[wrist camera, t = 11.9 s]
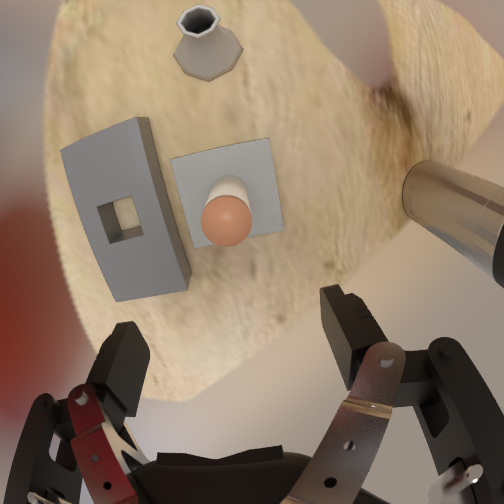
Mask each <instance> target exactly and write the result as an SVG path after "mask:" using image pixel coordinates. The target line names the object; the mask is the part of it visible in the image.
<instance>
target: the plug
mask: <svg viewBox="0 0 504 504" xmlns="http://www.w3.org/2000/svg"><path fill="white" fill-rule="evenodd" d="M201 228H202V231H203V233H204V235H205V236H206V237H207V239H208V240H210V241H211V242H212V243H214V244H216V245H219V246H233V245H236V244H239V243H241V242H242V241H243V240H244V239H245V238H246V237H247V236H248V235H249V233H250V231H251V228H252V217H251V211H250V206H249V200H248V195H247V189H246V186H245V184H244V182H243V181H242V180H241V179H240V178H238V177H236V176H233V175H225V176H222V177H220V178H218V179H217V180H216V181H215V182H214V183H213V185H212V188H211V191H210V193H209V196H208V199H207V202H206V205H205V207H204V210H203V213H202V216H201Z"/></svg>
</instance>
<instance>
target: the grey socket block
mask: <svg viewBox="0 0 504 504" xmlns="http://www.w3.org/2000/svg"><path fill="white" fill-rule="evenodd" d="M60 152H61V157H62V160H63V164H64V168H65V172H66V175H67V179H68V182H69V186H70V189H71V192H72V195H73V199H74V202H75V205H76V208H77V211H78V214H79V216H80V219H81V222H82V225H83V227H84V230H85V233H86V235H87V238H88V241H89V243H90V246H91V248H92V250H93V253H94V255H95V258H96V260H97V262H98V265H99V267H100V269H101V271H102V274H103V276H104V278H105V280H106V282H107V284H108V287H109V289H110V291H111V293H112V295H113V297H114V299H115V301H116V302H121V301H127V300H133V299H139V298H145V297H151V296H156V295H162V294H168V293H174V292H179V291H185V290H188V286H189V281H190V277H191V270H190V267H189V264H188V261H187V258H186V255H185V252H184V248H183V245H182V242H181V239H180V236H179V232H178V229H177V226H176V222H175V219H174V216H173V212H172V209H171V205H170V202H169V198H168V195H167V191H166V188H165V184H164V180H163V176H162V173H161V169H160V165H159V161H158V157H157V153H156V149H155V145H154V141H153V136H152V132H151V128H150V123H149V119H148V118H145V117H135V118H132V119H130V120H127V121H124V122H122V123H119V124H116V125H114V126H111V127H109V128H106V129H104V130H102V131H99V132H97V133H95V134H92V135H90V136H88V137H86V138H83V139H81V140H79V141H77V142H75V143H73V144H71V145H69V146H67V147H65V148H63V149H61V150H60ZM131 195H132V199H133V202H134V205H135V208H136V211H137V215H138V218H139V221H140V224H141V226H139V227H135V228H131V229H127V230H124V231H121V228H120V225H119V222H118V220H117V217H116V214H115V211H114V208H113V204H112V201H115V200H118V199H121V198H125V197H128V196H131Z"/></svg>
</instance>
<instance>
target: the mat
mask: <svg viewBox="0 0 504 504" xmlns="http://www.w3.org/2000/svg"><path fill="white" fill-rule="evenodd" d="M170 161H171V165H172V169H173V173H174V177H175V181H176V185H177V189H178V192H179V196H180V200H181V203H182V207H183V211H184V214H185V218H186V221H187V225H188V228H189V232H190V235H191V238H192V242H193V245H194V248H199V247H204V246H209V245H214V243H212V242H211V241H210V240H208V239H207V237H206V236H205V235H204V233H203V231H202V228H201V216H202V213H203V210H204V207H205V205H206V202H207V199H208V196H209V193H210V191H211V188H212V185H213V183H214V182H215V181H216V180H217V179H218V178H220V177H222V176H225V175H233V176H236V177H238V178H240V179H241V180H242V181H243V182H244V184H245V186H246V189H247V195H248V200H249V206H250V211H251V217H252V228H251V231H250V233H249V235H248V236H247V237H246V238H248V237H253V236H258V235H263V234H268V233H273V232H278V231H283V230H284V225H283V219H282V212H281V206H280V200H279V194H278V188H277V182H276V176H275V170H274V164H273V159H272V153H271V148H270V142H269V138H265V139H259V140H254V141H248V142H243V143H238V144H233V145H228V146H224V147H219V148H215V149H210V150H206V151H202V152H198V153H194V154H190V155H186V156H182V157H178V158H174V159H171V160H170Z"/></svg>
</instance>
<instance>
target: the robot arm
mask: <svg viewBox="0 0 504 504" xmlns="http://www.w3.org/2000/svg"><path fill="white" fill-rule="evenodd" d="M403 204H404V208H405V211H406V213H407V214H408V216H409V217H410V218H411V219H412V220H414V221H415V222H417V223H418V224H420V225H421V226H423V227H424V228H426V229H427V230H428V231H430V232H431V233H433V234H434V235H436V236H437V237H439V238H440V239H442V240H443V241H444V242H446V243H447V244H448V245H450V246H451V247H452V248H454V249H455V250H456V251H458V252H459V253H461V254H462V255H463V256H464V257H466V258H467V259H468V260H470V261H471V262H472V263H473V264H475V265H476V266H477V267H479V268H480V269H481V270H482V271H484V272H485V273H486V274H487V275H488V276H490V277H491V278H492V279H493V280H494V281H496V282H497V283H498V284H499V285H500V286H501V287H503V288H504V187H501V186H499V185H497V184H494V183H492V182H489V181H487V180H484V179H482V178H479V177H477V176H474V175H471V174H468V173H466V172H463V171H460V170H457V169H454V168H452V167H449V166H446V165H442V164H439V163H436V162H432V161H424V162H421V163H419V164H417V165H416V166H415V167H414V168H413V169H412V170H411V171H410V173H409V174H408V176H407V178H406V181H405V183H404V188H403ZM320 305H321V320H322V325H323V329H324V332H325V334H326V337H327V339H328V341H329V344H330V346H331V349H332V352H333V354H334V357H335V359H336V362H337V365H338V367H339V370H340V372H341V375H342V377H343V380H344V383H345V385H346V388H347V390H348V391H349V390H350V393H349V395H348V397H347V399H346V400H344V401H343V402H342V403H341V405H340V407H339V409H338V410H337V413H336V415H335V416H334V418H333V420H332V422H331V424H330V426H329V428H328V430H327V432H326V434H325V436H324V437H323V439H322V441H321V443H320V444H319V446H318V448H317V450H316V451H315V453H314V455H313V457H310V456H307V455H303V454H299V453H292V452H284V451H283V448H282V445H279V446H273V447H266V448H260V449H251V450H247V451H244V452H241V453H237V454H234V455H231V456H228V457H224V458H221V459H209V458H204V457H199V456H195V455H190V454H186V453H159V452H158V453H157V460H155V461H152V462H150V461H149V460H148V459H147V458H146V457H145V455H144V454H143V452H142V451H141V449H140V447H139V445H138V444H137V442H136V440H135V438H134V437H133V435H132V433H131V431H130V429H129V428H128V426H127V424H126V423H125V422H124V419H125V417H135V416H136V411H137V408H138V403H139V399H140V395H141V391H142V387H143V383H144V379H145V375H146V371H147V368H148V364H149V360H150V350H149V347H148V345H147V343H146V341H145V340H144V338H143V336H142V334H141V332H140V331H139V329H138V327H137V325H136V323H135V322H133V321H130V322H122V323H117V324H116V326H115V328H114V330H113V332H112V335H109V337H108V338H107V339H106V340H105V341H104V342H103V344H102V346H101V348H100V350H99V353H98V355H97V357H96V360H95V361H94V364H93V366H92V368H91V371H90V373H89V375H88V378H87V380H86V383H85V384H80V385H78V386H76V387H74V388H73V389H72V390H71V391H70V393H69V395H68V398H66V399H62V400H58V401H56V400H55V399H54V398H53V397H52V396H51V395H50V394H48V393H44V394H41V395H39V396H38V397H37V398H36V399H35V400H34V402H33V404H32V407H31V409H30V412H29V414H28V417H27V419H26V422H25V425H24V428H23V430H22V433H21V437H20V439H19V443H18V446H17V449H16V452H15V456H14V459H13V462H12V466H11V470H10V474H9V478H8V483H7V487H6V492H5V498H4V503H3V504H79V499H80V492H81V484H82V479H84V482H85V484H86V487H87V489H88V491H89V494H90V496H91V498H92V500H93V502H94V504H390V503H388V502H386V501H384V500H382V499H381V498H379V497H377V496H375V495H373V494H372V493H370V492H368V491H366V490H365V489H363V488H361V486H362V484H363V482H364V480H365V478H366V476H367V474H368V472H369V470H370V467H371V465H372V463H373V461H374V459H375V456H376V454H377V452H378V449H379V447H380V444H381V442H382V439H383V436H384V433H385V431H386V428H387V426H388V423H389V420H390V417H391V413H392V408H394V407H405V406H413V408H414V410H415V413H416V415H417V418H418V420H419V423H420V425H421V428H422V430H423V433H424V435H425V438H426V441H427V443H428V446H429V449H430V452H431V454H432V457H433V460H434V463H435V466H436V469H437V472H438V475H439V476H438V477H437V478H436V479H435V480H434V481H433V483H432V485H431V486H430V489H429V493H428V497H429V504H504V415H503V413H502V411H501V409H500V407H499V406H498V404H497V402H496V400H495V398H494V397H493V395H492V393H491V391H490V390H489V388H488V386H487V385H486V383H485V381H484V380H483V378H482V376H481V375H480V373H479V372H478V370H477V368H476V367H475V365H474V364H473V362H472V361H471V359H470V358H469V356H468V355H467V353H466V352H465V350H464V349H463V348H462V346H461V345H460V343H459V342H458V341H456V340H454V339H452V338H449V337H440V338H437V339H435V340H434V341H432V342H431V344H430V345H429V348H428V350H419V351H404V350H403V349H402V348H401V347H400V346H399V345H397V344H395V343H392V342H389V341H388V339H387V338H386V336H385V335H384V333H383V331H382V330H381V328H380V327H379V325H378V323H377V322H376V320H375V319H374V317H373V316H372V314H371V312H370V311H369V309H367V306H366V305H365V303H364V302H363V300H362V299H361V298H359V297H358V296H356V295H355V294H353V293H350V294H346V295H345V294H344V293H343V291H342V289H341V288H340V286H339V285H338V284H335V285H331V286H327V287H322V288H320ZM53 434H55V435H56V436H58V437H59V438H60V439H61V441H60V444H59V448H58V452H57V456H56V461H53V460H52V459H51V457H50V455H49V447H50V443H51V440H52V437H53Z"/></svg>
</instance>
